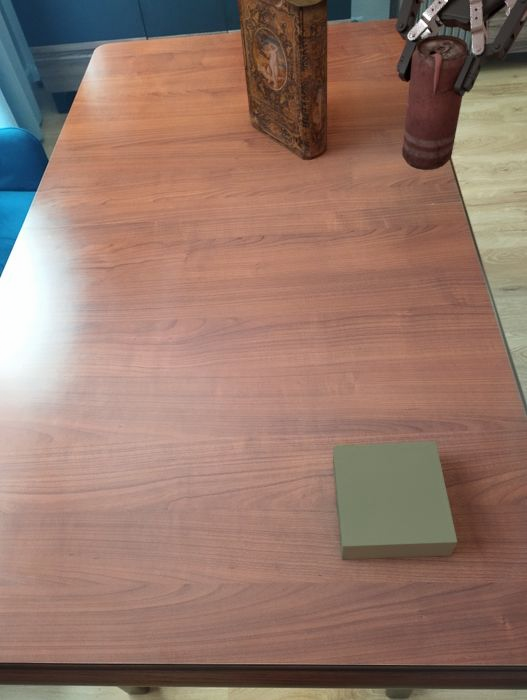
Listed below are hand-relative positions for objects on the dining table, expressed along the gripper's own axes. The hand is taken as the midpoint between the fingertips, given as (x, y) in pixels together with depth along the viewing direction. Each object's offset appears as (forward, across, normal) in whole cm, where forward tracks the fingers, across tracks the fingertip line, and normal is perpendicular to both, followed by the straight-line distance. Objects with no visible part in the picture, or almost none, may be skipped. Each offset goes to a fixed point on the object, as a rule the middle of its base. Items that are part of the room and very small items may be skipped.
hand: (430, 85), depth 66 cm
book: (+7, -33, +29) cm, 44 cm away
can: (+6, 0, +9) cm, 11 cm away
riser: (+43, +17, -7) cm, 47 cm away
